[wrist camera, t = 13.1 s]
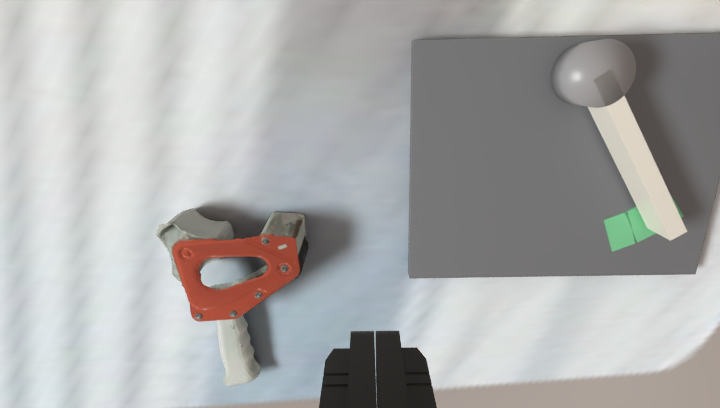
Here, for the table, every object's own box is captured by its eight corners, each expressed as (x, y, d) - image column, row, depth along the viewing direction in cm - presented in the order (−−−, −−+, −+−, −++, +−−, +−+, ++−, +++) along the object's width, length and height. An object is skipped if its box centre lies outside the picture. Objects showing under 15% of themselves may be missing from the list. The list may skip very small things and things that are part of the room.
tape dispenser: (247, 369, 48) (364, 264, 42) (233, 407, 43) (364, 294, 37) (117, 281, 43) (228, 150, 38) (85, 312, 39) (206, 167, 33)
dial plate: (411, 41, 35) (414, 39, 33) (741, 33, 34) (758, 31, 33) (408, 271, 42) (409, 278, 40) (683, 267, 41) (696, 274, 40)
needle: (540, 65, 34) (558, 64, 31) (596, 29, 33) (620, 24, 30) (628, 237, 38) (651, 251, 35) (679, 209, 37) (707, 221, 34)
